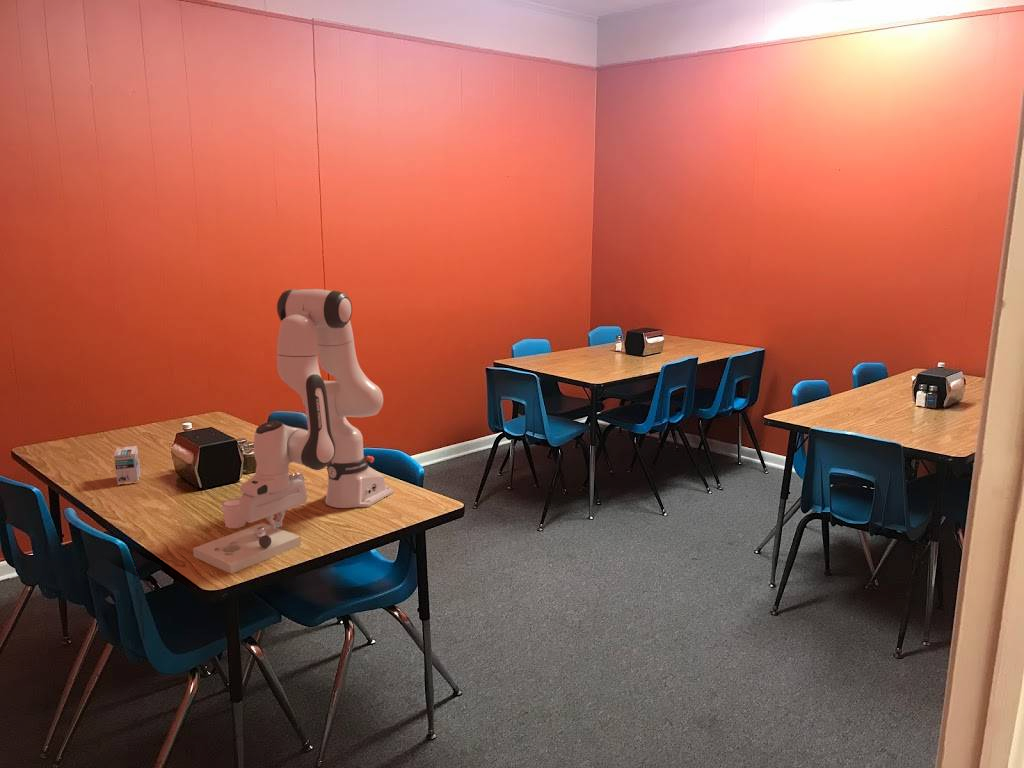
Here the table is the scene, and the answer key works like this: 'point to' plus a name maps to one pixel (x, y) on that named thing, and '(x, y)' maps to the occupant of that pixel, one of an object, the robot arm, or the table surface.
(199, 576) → the table surface
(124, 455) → the light bulb box
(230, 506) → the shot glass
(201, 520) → the table surface
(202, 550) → the board
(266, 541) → the black rubber ball
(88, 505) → the table surface
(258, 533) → the steel ball
